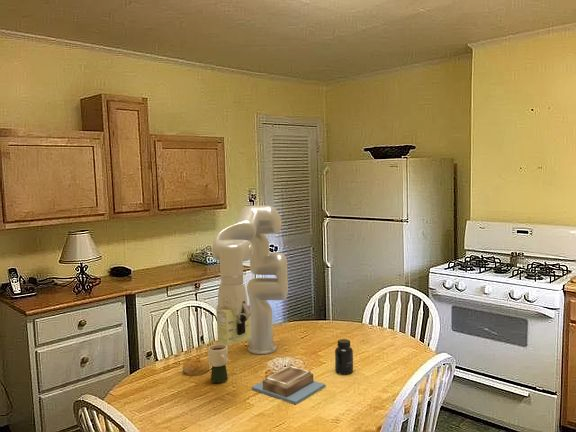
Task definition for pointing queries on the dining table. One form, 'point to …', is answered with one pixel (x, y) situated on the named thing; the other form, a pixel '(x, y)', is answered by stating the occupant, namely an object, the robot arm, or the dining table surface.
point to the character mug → (218, 362)
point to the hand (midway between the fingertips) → (234, 331)
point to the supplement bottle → (344, 357)
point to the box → (230, 327)
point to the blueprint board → (295, 397)
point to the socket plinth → (288, 381)
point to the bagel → (196, 367)
